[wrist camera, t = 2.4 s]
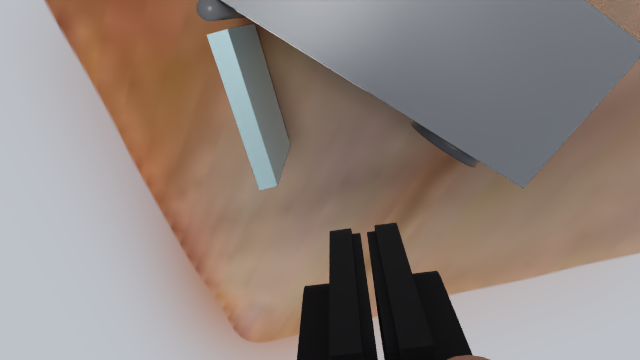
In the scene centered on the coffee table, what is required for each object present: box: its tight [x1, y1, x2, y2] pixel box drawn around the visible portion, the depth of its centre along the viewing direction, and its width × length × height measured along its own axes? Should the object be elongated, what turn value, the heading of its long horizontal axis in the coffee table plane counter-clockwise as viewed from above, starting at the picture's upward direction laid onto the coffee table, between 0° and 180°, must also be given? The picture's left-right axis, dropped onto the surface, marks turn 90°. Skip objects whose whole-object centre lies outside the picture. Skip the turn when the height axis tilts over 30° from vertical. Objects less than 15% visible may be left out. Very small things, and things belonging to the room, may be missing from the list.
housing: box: [197, 0, 640, 188], centre depth 21 cm, size 18×9×9 cm, turn 59°
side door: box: [207, 24, 290, 190], centre depth 23 cm, size 8×2×7 cm, turn 14°
